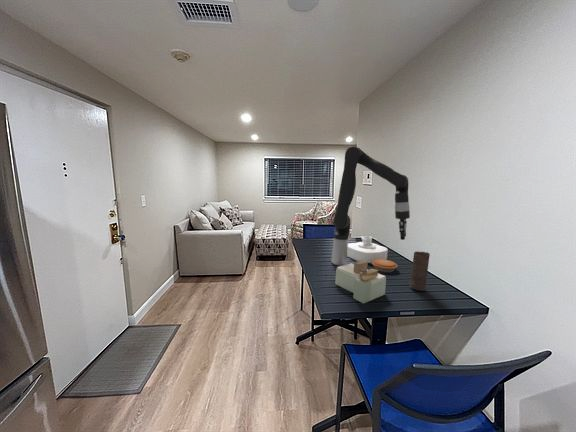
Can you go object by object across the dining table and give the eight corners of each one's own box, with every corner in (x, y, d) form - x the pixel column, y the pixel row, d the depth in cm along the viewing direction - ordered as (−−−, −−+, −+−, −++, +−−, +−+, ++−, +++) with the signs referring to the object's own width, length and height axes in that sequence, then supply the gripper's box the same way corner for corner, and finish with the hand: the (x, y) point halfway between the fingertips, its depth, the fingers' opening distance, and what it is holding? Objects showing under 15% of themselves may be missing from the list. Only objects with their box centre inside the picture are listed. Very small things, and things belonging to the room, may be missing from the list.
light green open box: (329, 285, 134) (330, 268, 132) (350, 279, 143) (351, 262, 142) (363, 303, 116) (365, 283, 115) (384, 294, 126) (386, 276, 124)
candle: (424, 293, 127) (429, 255, 124) (408, 290, 131) (412, 252, 128) (425, 288, 134) (430, 251, 131) (410, 284, 138) (414, 249, 134)
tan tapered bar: (359, 278, 119) (359, 269, 118) (372, 274, 125) (373, 265, 124) (364, 280, 117) (365, 271, 116) (377, 276, 122) (378, 267, 122)
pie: (395, 266, 166) (395, 259, 165) (399, 275, 151) (400, 267, 150) (370, 263, 170) (370, 256, 169) (372, 272, 155) (372, 264, 154)
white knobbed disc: (341, 253, 190) (342, 232, 188) (367, 250, 201) (368, 230, 198) (364, 264, 168) (366, 241, 166) (392, 260, 179) (394, 237, 176)
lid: (336, 269, 135) (337, 258, 134) (350, 265, 142) (351, 254, 141) (371, 284, 118) (372, 271, 117) (385, 279, 124) (386, 266, 123)
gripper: (396, 209, 153) (397, 235, 154) (393, 211, 140) (395, 240, 142) (410, 208, 149) (411, 235, 151) (408, 211, 137) (409, 240, 138)
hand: (403, 238), depth 146 cm, fingers open, 8 cm apart
